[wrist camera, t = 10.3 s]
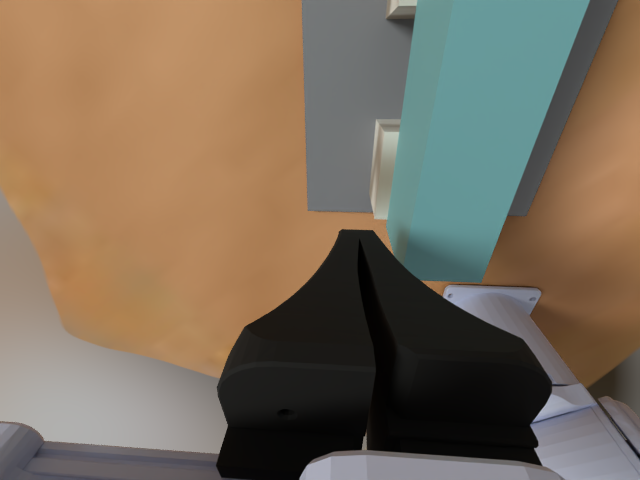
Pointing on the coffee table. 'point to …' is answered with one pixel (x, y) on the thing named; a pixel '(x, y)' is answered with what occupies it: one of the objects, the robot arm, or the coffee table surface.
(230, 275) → the coffee table surface
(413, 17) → the pillar
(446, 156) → the teal beam
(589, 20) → the grey flat plate
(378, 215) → the pillar
